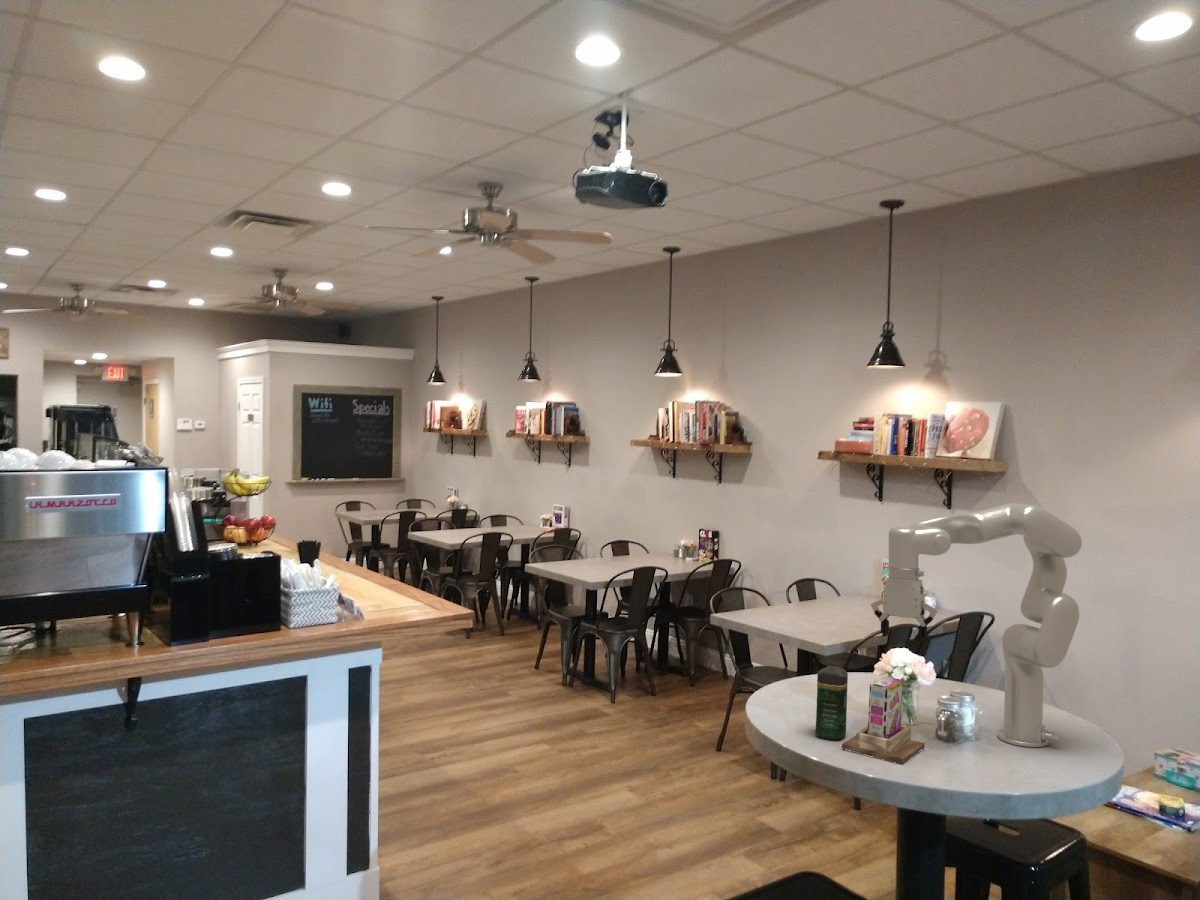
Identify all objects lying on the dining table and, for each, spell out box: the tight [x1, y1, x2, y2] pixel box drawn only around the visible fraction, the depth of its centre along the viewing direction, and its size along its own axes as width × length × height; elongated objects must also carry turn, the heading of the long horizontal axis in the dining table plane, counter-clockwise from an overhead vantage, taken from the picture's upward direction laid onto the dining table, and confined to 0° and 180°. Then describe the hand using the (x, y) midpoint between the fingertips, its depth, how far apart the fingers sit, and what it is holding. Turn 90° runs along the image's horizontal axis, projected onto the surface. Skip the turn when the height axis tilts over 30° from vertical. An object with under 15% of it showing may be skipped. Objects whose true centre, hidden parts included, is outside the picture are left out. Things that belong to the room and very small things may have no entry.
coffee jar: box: [815, 665, 849, 740], centre depth 239 cm, size 10×8×19 cm
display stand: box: [841, 724, 925, 765], centre depth 229 cm, size 16×16×5 cm
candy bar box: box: [867, 676, 903, 739], centre depth 229 cm, size 11×5×16 cm, turn 140°
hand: (903, 638), depth 232 cm, fingers open, 9 cm apart
